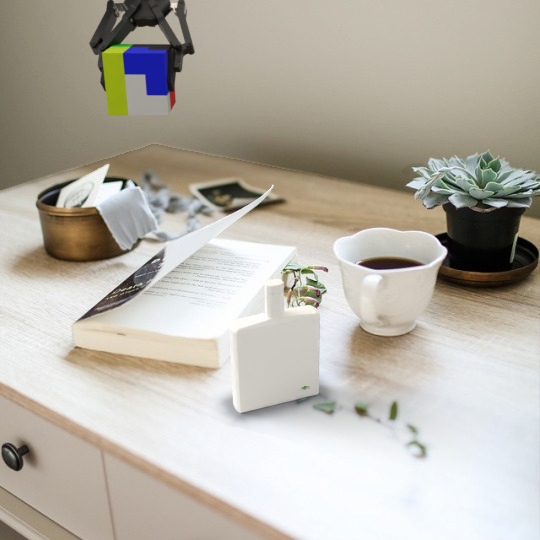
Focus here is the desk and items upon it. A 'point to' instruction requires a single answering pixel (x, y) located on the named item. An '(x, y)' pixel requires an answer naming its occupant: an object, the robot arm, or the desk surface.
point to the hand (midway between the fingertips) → (137, 87)
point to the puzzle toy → (137, 79)
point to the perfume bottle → (274, 353)
